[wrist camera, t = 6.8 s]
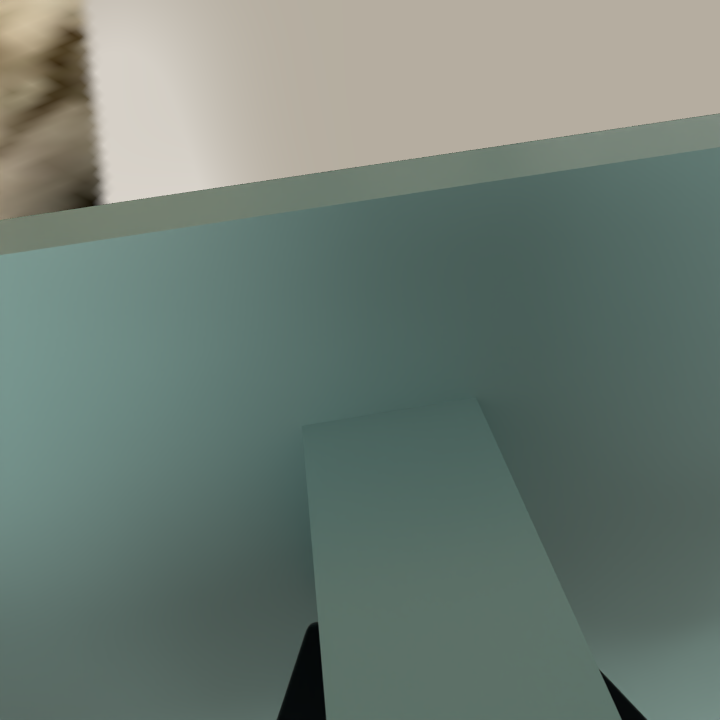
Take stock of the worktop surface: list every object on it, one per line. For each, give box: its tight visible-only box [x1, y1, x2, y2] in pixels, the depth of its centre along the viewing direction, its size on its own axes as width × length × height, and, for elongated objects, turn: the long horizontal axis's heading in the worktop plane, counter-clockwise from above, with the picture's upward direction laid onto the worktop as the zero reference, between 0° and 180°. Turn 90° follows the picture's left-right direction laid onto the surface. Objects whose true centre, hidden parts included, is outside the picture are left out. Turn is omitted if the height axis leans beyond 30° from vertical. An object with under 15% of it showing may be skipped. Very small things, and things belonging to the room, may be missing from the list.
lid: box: [0, 114, 720, 720], centre depth 9 cm, size 11×14×6 cm
